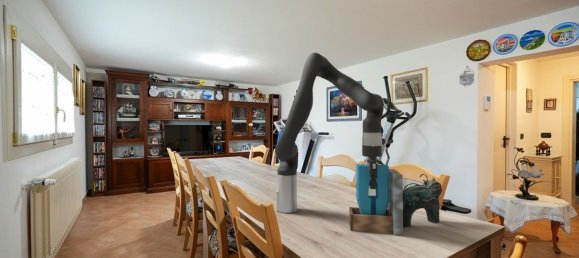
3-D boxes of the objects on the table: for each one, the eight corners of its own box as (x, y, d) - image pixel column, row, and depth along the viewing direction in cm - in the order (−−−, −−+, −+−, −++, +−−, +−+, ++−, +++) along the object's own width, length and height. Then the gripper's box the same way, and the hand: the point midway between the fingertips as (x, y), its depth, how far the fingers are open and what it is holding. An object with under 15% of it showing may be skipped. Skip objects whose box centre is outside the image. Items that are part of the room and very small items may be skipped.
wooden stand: (350, 232, 100) (350, 173, 100) (349, 219, 113) (348, 168, 113) (403, 235, 96) (402, 175, 96) (394, 222, 110) (394, 169, 110)
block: (386, 214, 107) (386, 164, 107) (389, 218, 102) (389, 166, 102) (356, 213, 108) (355, 164, 108) (357, 217, 103) (357, 166, 103)
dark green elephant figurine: (433, 218, 114) (433, 171, 114) (446, 223, 108) (446, 174, 108) (395, 223, 108) (394, 174, 108) (406, 229, 102) (406, 177, 102)
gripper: (360, 143, 113) (360, 183, 113) (363, 145, 98) (363, 191, 99) (379, 143, 111) (379, 183, 111) (385, 145, 97) (385, 192, 97)
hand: (372, 187), depth 105 cm, fingers closed on block, 5 cm apart
